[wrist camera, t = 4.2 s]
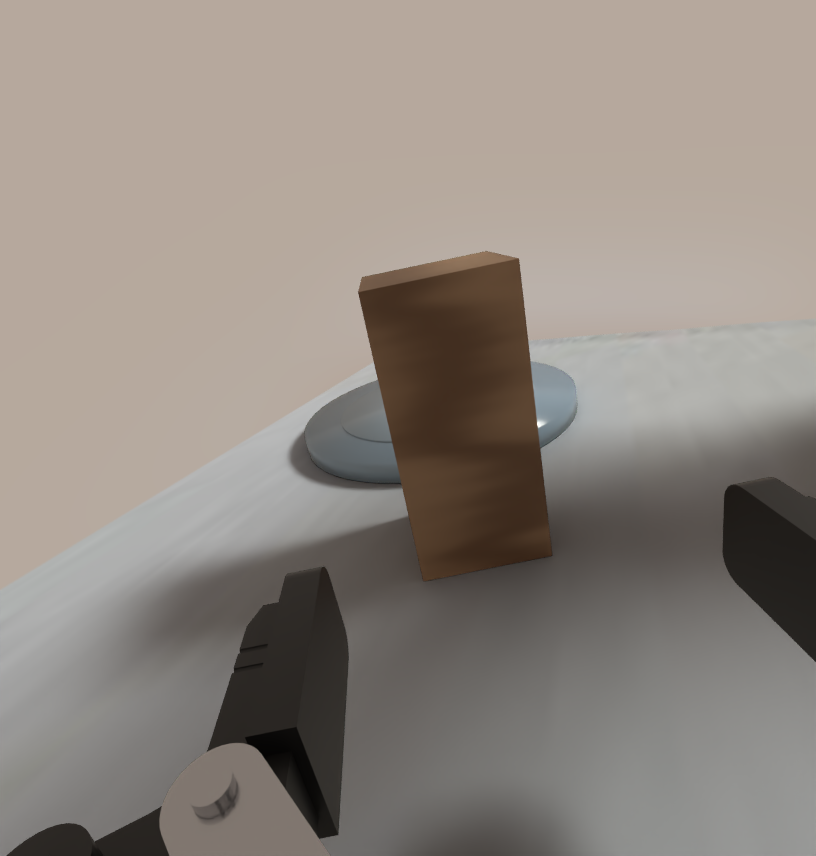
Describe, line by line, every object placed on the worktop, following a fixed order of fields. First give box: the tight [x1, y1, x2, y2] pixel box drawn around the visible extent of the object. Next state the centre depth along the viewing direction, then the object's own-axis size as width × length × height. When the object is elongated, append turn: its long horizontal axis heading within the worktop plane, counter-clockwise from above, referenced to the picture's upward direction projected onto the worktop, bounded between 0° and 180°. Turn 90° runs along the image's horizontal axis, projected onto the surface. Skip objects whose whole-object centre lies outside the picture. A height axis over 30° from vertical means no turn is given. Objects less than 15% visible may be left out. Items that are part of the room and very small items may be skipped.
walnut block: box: [358, 251, 552, 581], centre depth 20 cm, size 5×5×11 cm
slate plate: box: [304, 361, 577, 483], centre depth 35 cm, size 18×18×1 cm
